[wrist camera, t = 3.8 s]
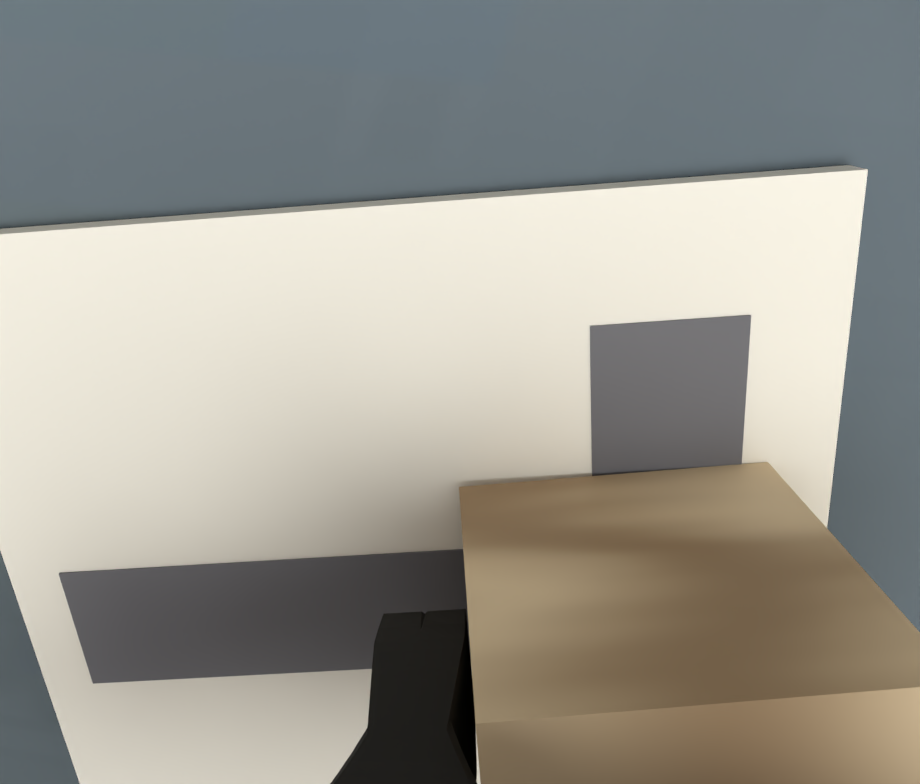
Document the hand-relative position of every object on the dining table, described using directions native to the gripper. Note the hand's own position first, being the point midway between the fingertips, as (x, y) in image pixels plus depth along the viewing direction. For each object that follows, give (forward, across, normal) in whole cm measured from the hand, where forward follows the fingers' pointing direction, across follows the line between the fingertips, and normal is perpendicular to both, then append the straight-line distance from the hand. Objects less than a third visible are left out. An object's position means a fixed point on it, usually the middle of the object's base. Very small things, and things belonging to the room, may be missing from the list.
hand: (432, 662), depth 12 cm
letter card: (+2, 0, 0) cm, 2 cm away
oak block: (+1, -3, 0) cm, 3 cm away
